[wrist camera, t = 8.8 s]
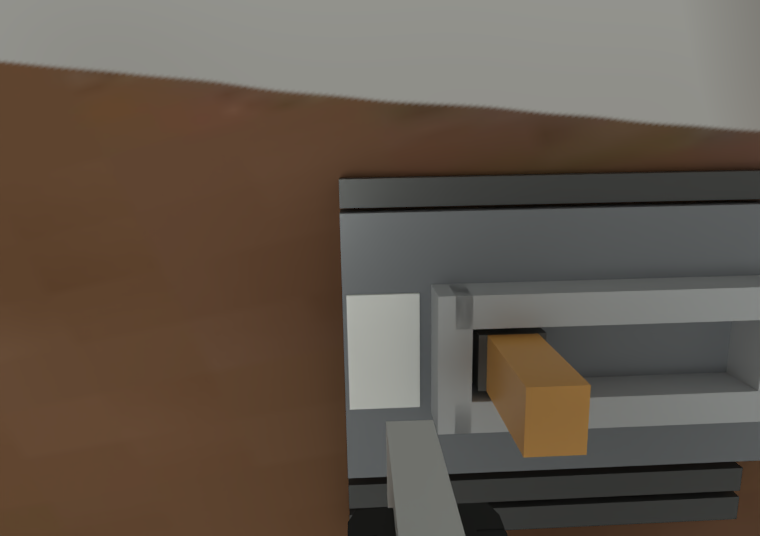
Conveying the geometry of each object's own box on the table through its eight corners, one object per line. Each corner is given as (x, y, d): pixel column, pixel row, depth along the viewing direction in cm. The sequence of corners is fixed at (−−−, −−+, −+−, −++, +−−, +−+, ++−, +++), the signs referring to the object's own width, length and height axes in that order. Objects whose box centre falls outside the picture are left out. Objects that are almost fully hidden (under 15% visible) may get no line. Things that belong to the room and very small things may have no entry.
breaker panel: (350, 521, 33) (350, 577, 29) (339, 177, 29) (337, 182, 24) (785, 500, 34) (848, 551, 30) (833, 168, 30) (914, 171, 26)
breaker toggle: (469, 375, 29) (512, 457, 21) (470, 322, 29) (515, 387, 21) (531, 373, 29) (597, 454, 21) (533, 320, 29) (601, 384, 21)
